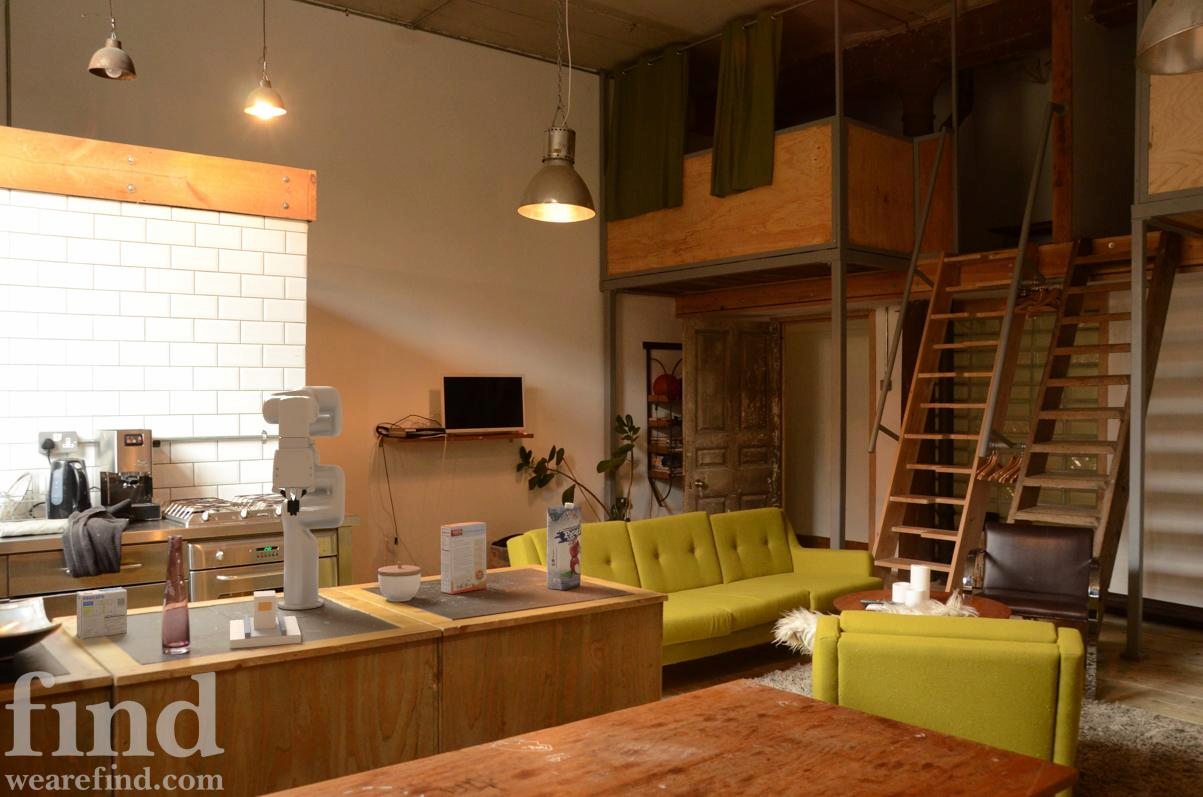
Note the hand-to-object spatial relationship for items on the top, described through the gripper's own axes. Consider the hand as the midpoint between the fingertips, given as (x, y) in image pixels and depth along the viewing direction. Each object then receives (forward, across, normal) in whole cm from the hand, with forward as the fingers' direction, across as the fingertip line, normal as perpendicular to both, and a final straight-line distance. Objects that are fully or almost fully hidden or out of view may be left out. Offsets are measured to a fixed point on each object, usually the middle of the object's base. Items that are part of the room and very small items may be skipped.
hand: (293, 515), depth 247 cm
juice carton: (+29, -84, -29) cm, 94 cm away
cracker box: (+29, -53, -35) cm, 70 cm away
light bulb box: (+29, +45, -10) cm, 55 cm away
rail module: (+27, +7, +6) cm, 28 cm away
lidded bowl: (+29, -32, -28) cm, 52 cm away
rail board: (+29, +7, +6) cm, 31 cm away
